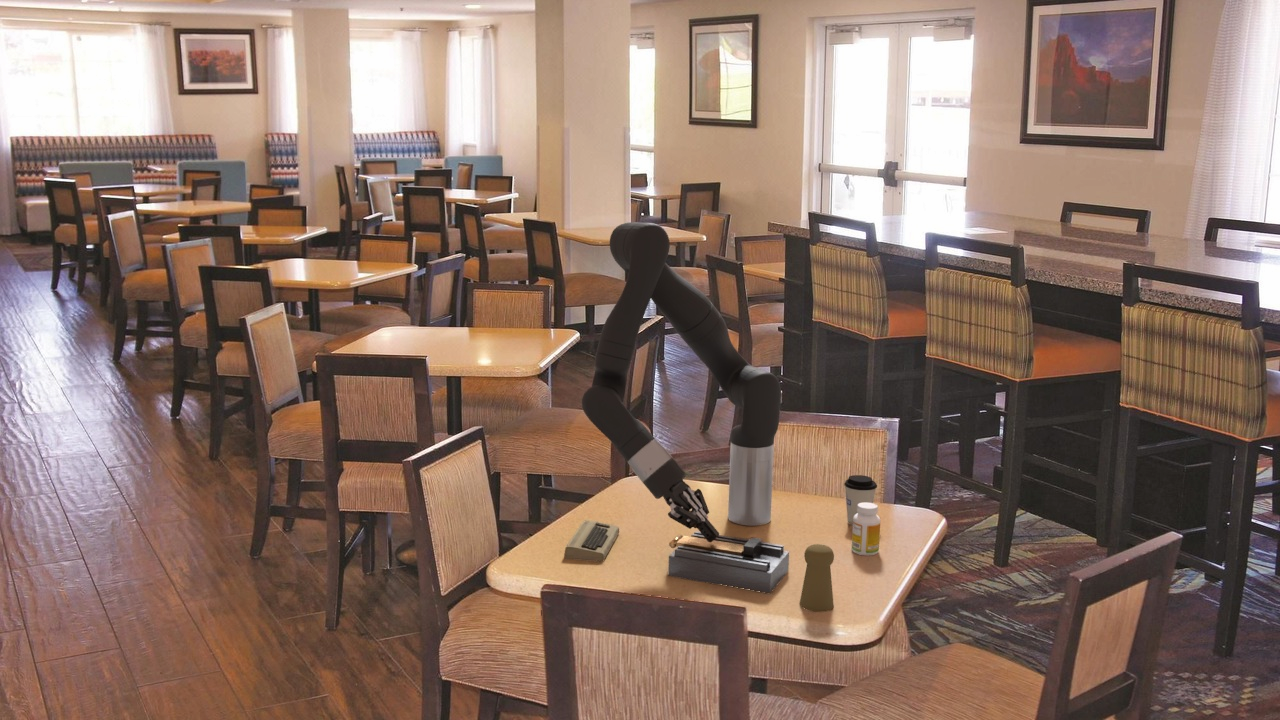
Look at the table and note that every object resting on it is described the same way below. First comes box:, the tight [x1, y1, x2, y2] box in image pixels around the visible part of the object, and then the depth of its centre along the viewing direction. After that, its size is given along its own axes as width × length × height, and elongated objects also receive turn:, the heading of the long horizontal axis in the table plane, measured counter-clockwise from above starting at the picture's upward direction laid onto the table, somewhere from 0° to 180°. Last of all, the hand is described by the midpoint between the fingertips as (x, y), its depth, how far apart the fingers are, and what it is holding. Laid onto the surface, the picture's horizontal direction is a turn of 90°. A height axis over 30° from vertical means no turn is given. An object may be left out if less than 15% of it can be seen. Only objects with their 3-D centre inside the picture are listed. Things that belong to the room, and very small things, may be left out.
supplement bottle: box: [851, 502, 881, 556], centre depth 235 cm, size 5×5×10 cm
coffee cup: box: [843, 474, 878, 526], centre depth 251 cm, size 7×7×10 cm
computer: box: [563, 520, 620, 562], centre depth 236 cm, size 16×8×3 cm, turn 170°
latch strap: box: [668, 534, 744, 556], centre depth 224 cm, size 4×14×1 cm, turn 67°
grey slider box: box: [667, 530, 790, 594], centre depth 223 cm, size 12×20×7 cm, turn 67°
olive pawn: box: [799, 543, 835, 613], centre depth 209 cm, size 6×6×11 cm
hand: (714, 538), depth 223 cm, fingers closed
